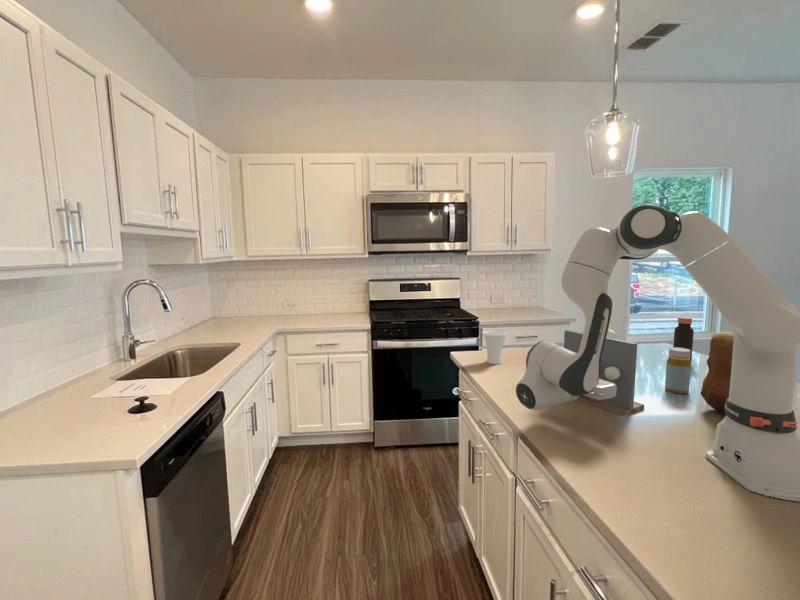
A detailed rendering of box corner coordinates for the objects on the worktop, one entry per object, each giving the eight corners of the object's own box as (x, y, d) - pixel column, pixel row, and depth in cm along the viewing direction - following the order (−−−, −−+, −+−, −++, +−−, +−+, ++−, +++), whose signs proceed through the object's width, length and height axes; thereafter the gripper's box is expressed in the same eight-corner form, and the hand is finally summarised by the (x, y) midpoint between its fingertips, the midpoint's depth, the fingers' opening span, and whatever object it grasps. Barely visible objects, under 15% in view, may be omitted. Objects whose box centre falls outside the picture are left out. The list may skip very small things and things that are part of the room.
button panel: (625, 416, 123) (629, 344, 120) (558, 392, 143) (560, 331, 140) (643, 409, 128) (648, 340, 125) (576, 387, 148) (579, 327, 145)
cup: (481, 364, 178) (481, 334, 176) (483, 358, 188) (483, 329, 186) (505, 366, 175) (506, 335, 173) (506, 360, 185) (507, 330, 183)
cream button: (616, 381, 124) (617, 369, 123) (604, 378, 127) (604, 365, 127) (621, 380, 125) (621, 367, 124) (608, 376, 128) (609, 364, 128)
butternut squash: (752, 410, 126) (760, 330, 123) (763, 426, 115) (772, 339, 112) (697, 401, 133) (703, 326, 130) (702, 416, 122) (709, 334, 119)
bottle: (692, 395, 139) (696, 352, 137) (669, 393, 141) (673, 351, 139) (683, 388, 146) (686, 347, 144) (661, 387, 147) (664, 346, 146)
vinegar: (668, 362, 179) (671, 317, 176) (679, 360, 181) (683, 316, 178) (683, 366, 172) (686, 319, 170) (695, 364, 174) (698, 318, 172)
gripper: (599, 385, 105) (630, 376, 112) (536, 366, 123) (566, 359, 130) (597, 408, 106) (628, 398, 113) (535, 386, 124) (565, 378, 131)
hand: (595, 377), depth 122 cm, fingers closed
